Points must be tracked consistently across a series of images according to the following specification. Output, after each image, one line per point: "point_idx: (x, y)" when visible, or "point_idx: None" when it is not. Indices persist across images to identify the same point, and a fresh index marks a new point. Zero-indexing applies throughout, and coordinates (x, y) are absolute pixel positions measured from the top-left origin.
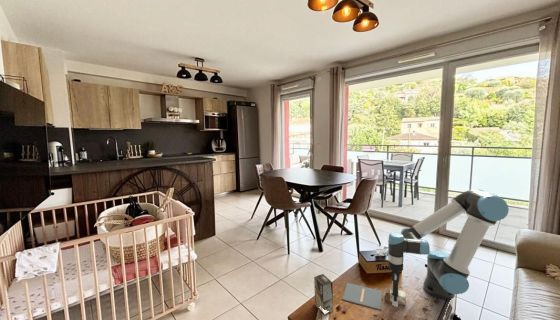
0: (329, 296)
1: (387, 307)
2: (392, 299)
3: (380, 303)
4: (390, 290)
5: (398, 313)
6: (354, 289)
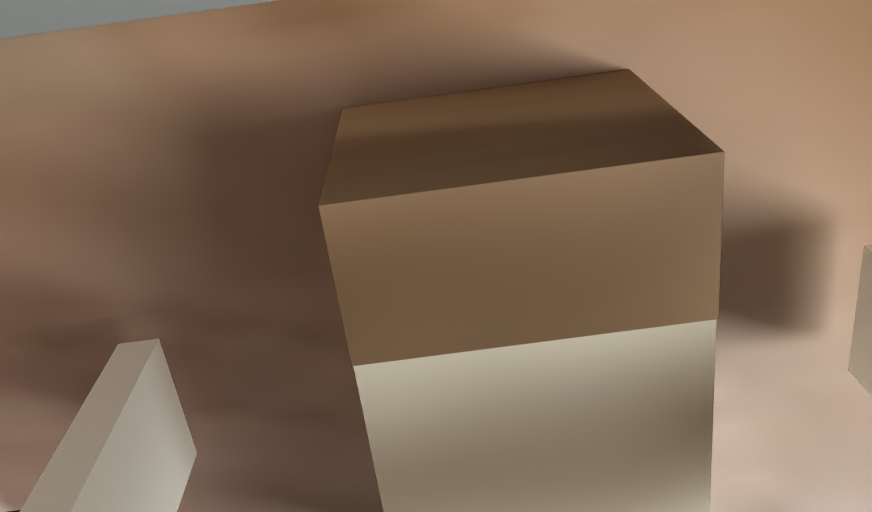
0: None
1: (43, 211)
2: (45, 474)
3: (3, 16)
4: (568, 346)
5: (16, 450)
6: None
